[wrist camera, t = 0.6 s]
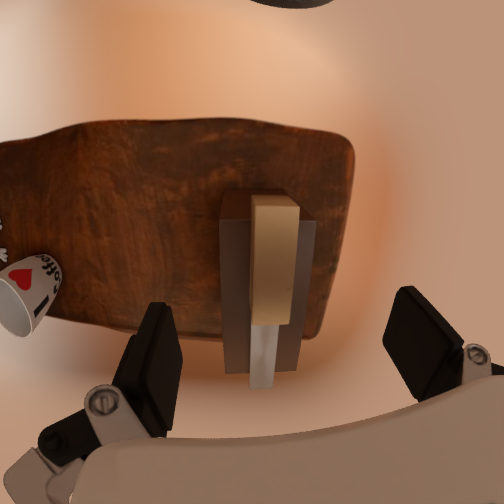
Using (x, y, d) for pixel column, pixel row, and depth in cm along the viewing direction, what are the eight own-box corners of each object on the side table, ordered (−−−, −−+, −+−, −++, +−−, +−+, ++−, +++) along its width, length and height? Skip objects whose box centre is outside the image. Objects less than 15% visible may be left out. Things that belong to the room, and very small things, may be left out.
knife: (251, 194, 16) (254, 205, 13) (288, 195, 16) (300, 206, 13) (247, 384, 22) (249, 411, 19) (272, 383, 22) (277, 410, 19)
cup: (80, 288, 30) (43, 332, 21) (47, 302, 31) (13, 342, 22) (51, 234, 27) (3, 267, 18) (21, 255, 28) (-21, 287, 19)
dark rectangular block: (225, 188, 27) (218, 219, 16) (283, 189, 27) (317, 220, 16) (226, 299, 32) (225, 374, 21) (276, 298, 32) (296, 371, 21)
